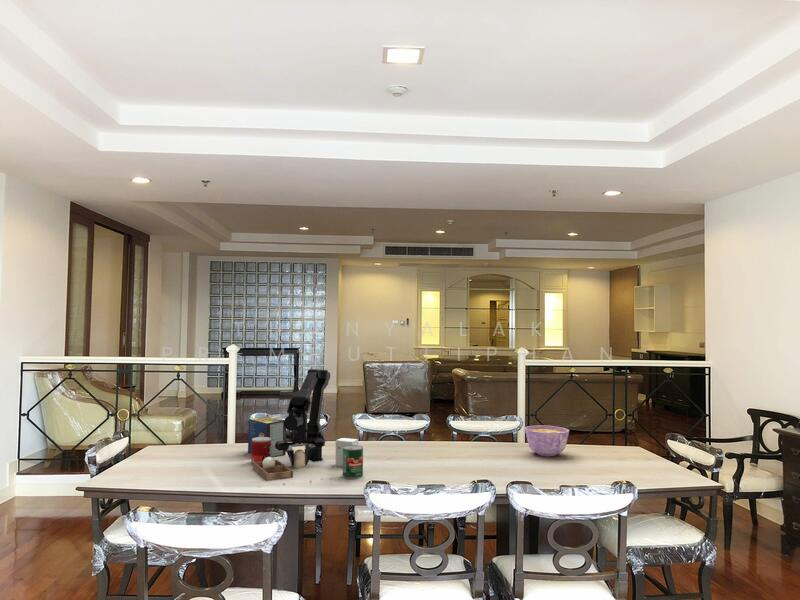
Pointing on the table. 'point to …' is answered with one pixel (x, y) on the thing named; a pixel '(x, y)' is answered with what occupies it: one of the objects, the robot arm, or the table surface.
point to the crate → (273, 471)
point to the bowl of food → (546, 439)
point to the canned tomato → (352, 461)
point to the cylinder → (299, 459)
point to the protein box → (267, 432)
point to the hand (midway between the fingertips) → (299, 465)
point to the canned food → (260, 449)
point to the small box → (339, 448)
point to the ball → (268, 462)
